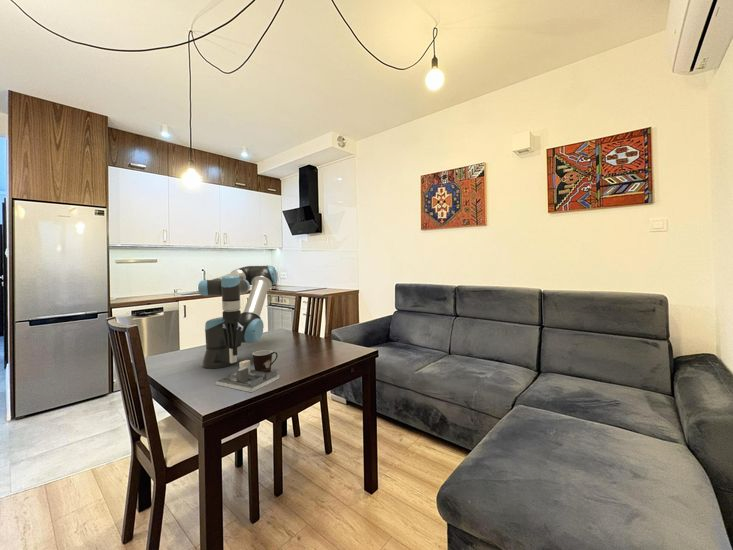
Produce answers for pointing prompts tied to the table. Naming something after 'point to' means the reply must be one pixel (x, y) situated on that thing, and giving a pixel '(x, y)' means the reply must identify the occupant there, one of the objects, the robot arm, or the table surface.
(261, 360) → the coffee mug
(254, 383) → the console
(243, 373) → the block
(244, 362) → the fader
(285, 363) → the table surface
